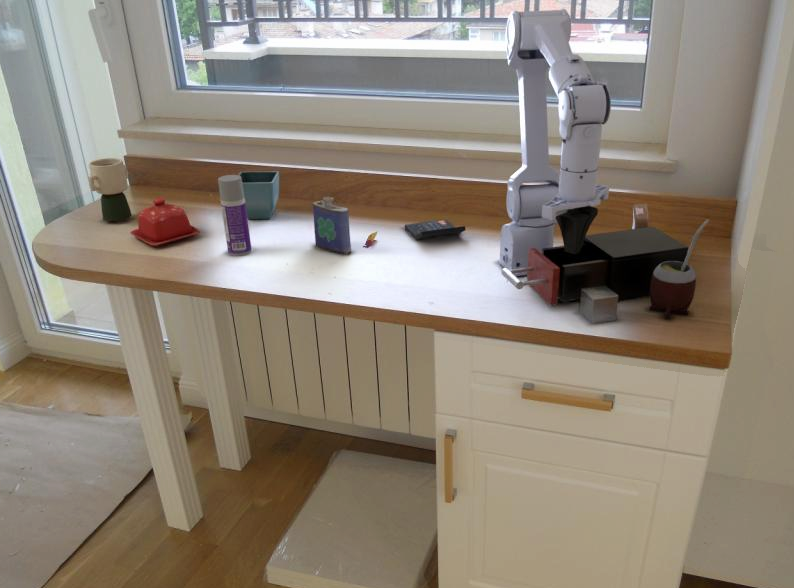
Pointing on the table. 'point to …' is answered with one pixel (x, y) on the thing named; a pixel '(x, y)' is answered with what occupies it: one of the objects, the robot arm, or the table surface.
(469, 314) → the table surface
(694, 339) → the table surface
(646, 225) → the tin
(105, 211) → the character mug
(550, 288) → the drawer
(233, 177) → the container
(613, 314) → the steel block
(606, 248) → the black storage chest
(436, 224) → the calculator
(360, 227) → the table surface
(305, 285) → the table surface
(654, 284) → the mate gourd
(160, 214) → the butter dish
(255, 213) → the flower pot
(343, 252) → the flask
